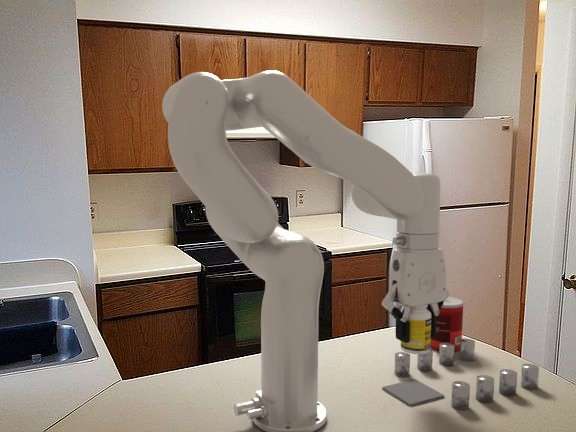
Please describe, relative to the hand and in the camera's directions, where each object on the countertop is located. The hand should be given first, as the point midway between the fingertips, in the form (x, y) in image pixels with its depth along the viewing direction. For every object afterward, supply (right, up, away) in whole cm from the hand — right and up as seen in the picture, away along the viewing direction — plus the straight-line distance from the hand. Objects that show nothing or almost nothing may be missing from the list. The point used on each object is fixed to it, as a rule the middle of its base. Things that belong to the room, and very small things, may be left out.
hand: (415, 336), depth 100 cm
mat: (0, -11, +1) cm, 11 cm away
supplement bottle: (0, -3, 0) cm, 3 cm away
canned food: (+13, -8, +26) cm, 30 cm away
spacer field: (+11, -10, +7) cm, 17 cm away
